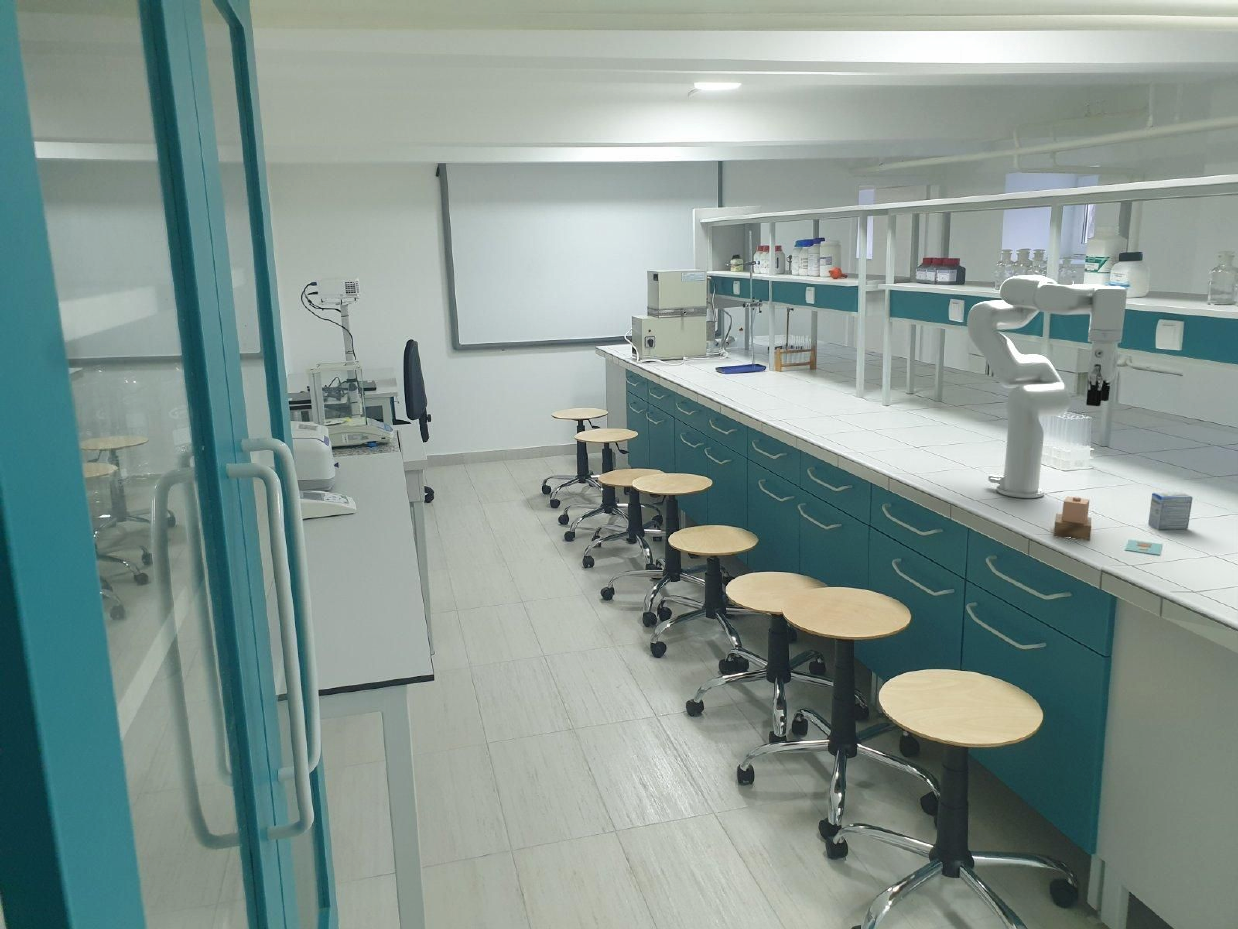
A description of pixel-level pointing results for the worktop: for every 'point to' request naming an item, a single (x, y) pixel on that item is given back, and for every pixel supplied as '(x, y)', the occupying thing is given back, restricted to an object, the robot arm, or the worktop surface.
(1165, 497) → the medicine box
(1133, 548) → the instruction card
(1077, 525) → the walnut block
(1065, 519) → the painted brick
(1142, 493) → the worktop surface
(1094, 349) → the robot arm
